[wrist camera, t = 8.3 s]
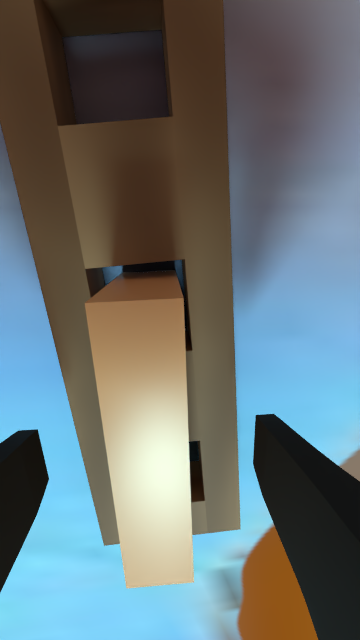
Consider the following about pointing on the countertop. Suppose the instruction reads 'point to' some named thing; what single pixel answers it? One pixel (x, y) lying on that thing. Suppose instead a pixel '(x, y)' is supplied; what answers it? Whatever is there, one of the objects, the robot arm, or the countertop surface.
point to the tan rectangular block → (145, 421)
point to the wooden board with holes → (130, 215)
